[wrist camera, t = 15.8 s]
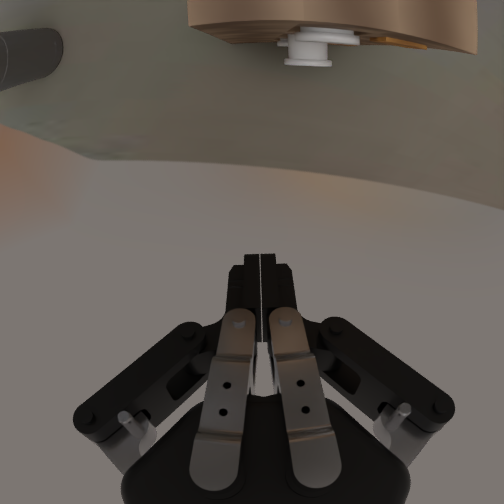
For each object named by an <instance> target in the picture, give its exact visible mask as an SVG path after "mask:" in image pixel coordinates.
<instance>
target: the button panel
mask: <svg viewBox="0 0 504 504" xmlns="http://www.w3.org/2000/svg"><path fill="white" fill-rule="evenodd" d="M187 6H188V21H189V26H190V27H192V28H195V29H197V30H200V31H203V32H205V33H207V34H210V35H212V36H215V37H217V38H219V39H222V40H224V41H226V42H228V43H231V44H236V43H257V42H277V41H280V38H284V39H288V34H294V33H295V32H300V27H319V28H331V29H342V30H351V31H354V35H355V36H359V37H360V45H394V46H400V47H405V48H415V49H425V50H427V48H433V49H441V50H449V51H456V52H463V53H468V54H474V55H477V38H478V30H477V2H476V0H187ZM327 44H329V43H327ZM333 45H344V44H333ZM344 46H357V45H344Z"/></svg>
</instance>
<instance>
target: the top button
mask: <svg viewBox="0 0 504 504" xmlns="http://www.w3.org/2000/svg"><path fill="white" fill-rule="evenodd" d="M294 36H295V41H299V42H313V43H329V44H344V45H360V37H359V36H355V35H354V31H351V30H342V29H331V28H319V27H300V32H295V33H294Z"/></svg>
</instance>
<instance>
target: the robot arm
mask: <svg viewBox="0 0 504 504" xmlns="http://www.w3.org/2000/svg"><path fill="white" fill-rule="evenodd" d="M62 51H63V45H62V40H61V37H60V35H59V34H58V33H57V32H56V31H55V30H53V29H49V28H43V29H27V30H16V31H8V32H0V91H3V90H6V89H8V88H11V87H14V86H17V85H20V84H23V83H26V82H30V81H33V80H36V79H40V78H43V77H46V76H48V75H49V74H51V73H52V72H53V71H54V70H55V68H56V67H57V65H58V64H59V62H60V59H61V56H62ZM261 287H262V321H263V342H267V343H268V353H269V359H270V366H271V374H272V382H273V389H274V395H270V396H266V397H261V396H256V395H255V383H256V370H257V359H258V355H257V342H261V341H262V337H261V295H260V266H259V254H245V255H244V265H234V266H233V267H232V269H231V270H230V272H229V279H228V291H227V301H226V311H225V314H224V316H223V317H222V319H221V320H219V321H218V322H216V323H214V324H211V325H208V326H204V327H202V326H201V325H200V324H198V323H196V322H185V323H182V324H180V325H178V326H177V327H176V328H175V329H173V330H172V331H171V332H170V333H169V334H167V335H166V336H165V337H164V338H163V339H161V340H160V341H159V342H158V343H156V344H155V345H154V346H153V347H151V348H150V349H149V350H148V351H147V352H145V353H144V354H143V355H142V356H141V357H139V358H138V359H137V360H136V361H134V362H133V363H132V364H131V365H129V366H128V367H127V368H126V369H125V370H123V371H122V372H121V373H120V374H118V375H117V376H116V377H115V378H113V379H112V380H111V381H110V382H108V383H107V384H106V385H105V386H104V387H102V388H101V389H100V390H99V391H97V392H96V393H95V394H94V395H92V396H91V397H90V398H89V399H87V400H86V401H85V402H84V403H83V404H81V405H80V406H79V407H78V408H77V409H76V410H75V412H74V415H73V423H74V426H75V428H76V429H77V430H78V431H79V432H80V433H82V434H83V435H84V436H85V437H87V438H88V439H89V440H91V441H92V442H93V443H95V444H96V445H97V446H99V447H100V448H101V450H102V451H103V452H104V453H105V455H106V456H107V457H108V458H109V459H110V460H111V462H112V463H113V464H114V465H115V466H116V467H117V468H118V470H119V471H120V472H121V473H122V474H123V475H124V476H123V479H122V483H121V495H122V499H123V501H124V504H405V501H406V498H407V496H408V493H409V490H410V481H411V480H410V474H409V471H408V469H407V468H408V466H409V465H410V464H411V463H412V461H413V460H414V459H415V458H416V456H417V455H418V454H419V452H420V451H421V450H422V449H423V447H424V446H425V445H426V443H427V442H428V441H429V439H430V438H431V437H432V436H433V435H435V434H436V433H437V432H438V431H439V430H441V429H442V427H443V426H444V425H445V424H446V423H447V422H448V421H449V420H450V419H451V418H452V417H453V415H454V412H455V405H454V402H453V400H452V398H451V397H450V396H449V395H448V394H446V393H445V392H444V391H442V390H441V389H439V388H438V387H437V386H435V385H434V384H433V383H431V382H430V381H429V380H427V379H426V378H424V377H423V376H422V375H420V374H419V373H418V372H416V371H415V370H413V369H412V368H411V367H410V366H408V365H407V364H405V363H404V362H402V361H401V360H400V359H399V358H397V357H396V356H395V355H393V354H392V353H390V352H389V351H388V350H386V349H385V348H383V347H382V346H381V345H379V344H378V343H377V342H375V341H374V340H373V339H371V338H370V337H369V336H367V335H366V334H365V333H363V332H362V331H360V330H359V329H358V328H356V327H355V326H354V325H352V324H351V323H350V322H348V321H347V320H345V319H343V318H340V317H329V318H327V319H325V320H324V321H322V323H317V322H312V321H309V320H306V319H305V318H303V317H302V316H301V314H300V313H299V312H298V310H297V305H296V298H295V290H294V283H293V277H292V270H291V269H290V268H289V266H288V265H287V264H276V257H275V254H261ZM320 377H322V378H323V379H324V380H325V381H326V382H327V383H329V384H330V385H331V386H332V387H333V388H334V389H336V390H337V391H338V392H339V393H340V394H341V395H343V396H344V397H345V398H346V399H347V400H349V401H350V402H351V403H352V404H353V405H355V406H356V407H357V408H358V409H359V410H361V411H362V412H363V413H364V414H366V415H367V416H368V417H369V418H370V419H372V420H373V421H374V424H373V431H374V434H375V436H376V437H377V438H378V439H379V440H380V441H378V440H377V439H376V438H375V437H374V436H373V435H372V434H370V433H369V432H368V431H367V430H366V429H365V428H364V427H362V425H360V424H359V423H358V422H357V421H356V420H355V419H354V418H353V417H352V416H350V415H349V414H348V413H347V412H346V411H345V410H344V409H343V408H342V407H341V406H339V405H338V404H337V403H335V402H334V401H332V400H330V399H327V398H325V397H324V393H323V388H322V384H321V380H320ZM207 380H208V381H207ZM206 381H207V387H206V392H205V397H204V401H203V402H200V403H198V404H197V405H195V406H194V407H192V408H191V409H190V410H189V411H188V412H187V413H186V414H185V415H184V416H183V417H182V418H181V419H180V420H179V421H178V422H177V423H176V424H175V425H174V426H173V427H172V428H171V429H170V430H169V431H168V432H167V433H166V434H165V435H164V436H162V437H161V438H160V439H159V440H158V441H157V442H156V443H155V444H154V445H153V443H154V442H155V440H156V437H157V432H156V429H155V428H156V427H157V426H158V425H159V424H160V423H161V422H162V421H163V420H165V419H166V418H167V417H168V416H169V415H170V414H171V413H172V412H174V411H175V409H177V408H178V407H179V406H180V405H181V404H182V403H183V402H184V401H185V400H187V399H188V398H189V397H190V396H191V395H192V394H193V393H194V392H195V391H196V390H197V389H198V388H199V387H200V386H202V385H203V384H204V383H205V382H206ZM152 445H153V446H152ZM151 446H152V447H151ZM150 447H151V448H150Z"/></svg>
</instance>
